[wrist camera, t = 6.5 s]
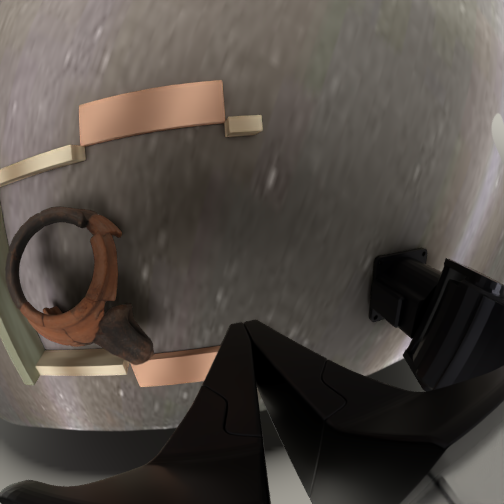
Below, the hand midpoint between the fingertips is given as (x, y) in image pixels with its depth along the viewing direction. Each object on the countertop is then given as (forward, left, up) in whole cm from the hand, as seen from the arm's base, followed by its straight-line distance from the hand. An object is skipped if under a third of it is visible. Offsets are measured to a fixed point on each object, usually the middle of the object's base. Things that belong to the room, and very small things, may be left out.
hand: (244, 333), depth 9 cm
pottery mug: (+10, +2, -12) cm, 16 cm away
